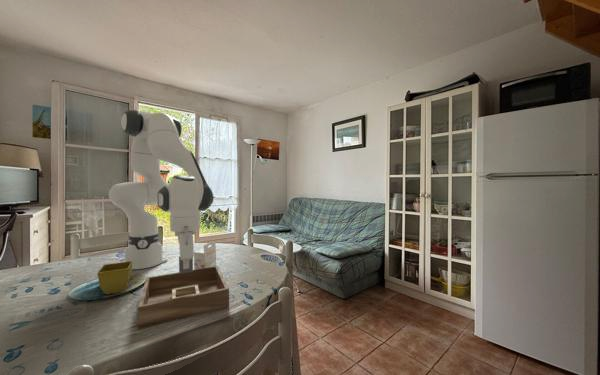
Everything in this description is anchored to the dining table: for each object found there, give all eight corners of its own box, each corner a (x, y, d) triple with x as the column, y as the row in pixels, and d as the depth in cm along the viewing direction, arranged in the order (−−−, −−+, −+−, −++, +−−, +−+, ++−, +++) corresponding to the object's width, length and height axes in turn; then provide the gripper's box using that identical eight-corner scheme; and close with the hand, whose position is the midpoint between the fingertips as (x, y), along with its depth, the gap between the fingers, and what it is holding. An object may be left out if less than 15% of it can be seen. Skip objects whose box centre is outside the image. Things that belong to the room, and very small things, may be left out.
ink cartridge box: (206, 272, 102) (206, 239, 102) (216, 273, 102) (216, 239, 101) (193, 281, 94) (193, 244, 94) (204, 282, 93) (204, 245, 93)
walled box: (146, 294, 83) (146, 277, 83) (217, 280, 94) (217, 266, 94) (138, 329, 64) (137, 307, 64) (229, 307, 75) (229, 288, 75)
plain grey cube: (179, 269, 79) (178, 256, 79) (192, 267, 81) (191, 255, 81) (179, 273, 76) (179, 260, 76) (192, 271, 78) (192, 258, 78)
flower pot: (97, 298, 80) (96, 272, 79) (104, 288, 87) (103, 264, 87) (128, 293, 84) (128, 268, 83) (133, 283, 91) (132, 260, 91)
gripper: (198, 229, 70) (198, 274, 71) (193, 219, 89) (193, 255, 89) (174, 231, 68) (175, 278, 68) (174, 220, 86) (175, 258, 86)
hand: (185, 265), depth 79 cm, fingers closed on plain grey cube, 4 cm apart
